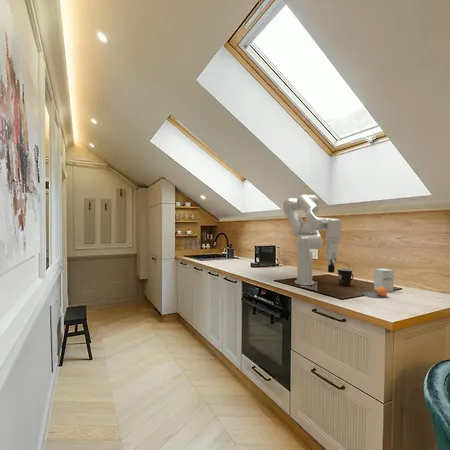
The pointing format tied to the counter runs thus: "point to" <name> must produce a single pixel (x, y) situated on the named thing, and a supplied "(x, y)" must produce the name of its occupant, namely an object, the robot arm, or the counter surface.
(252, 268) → the counter surface
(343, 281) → the coffee mug
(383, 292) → the ball
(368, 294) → the disc
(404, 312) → the counter surface
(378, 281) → the supplement box
